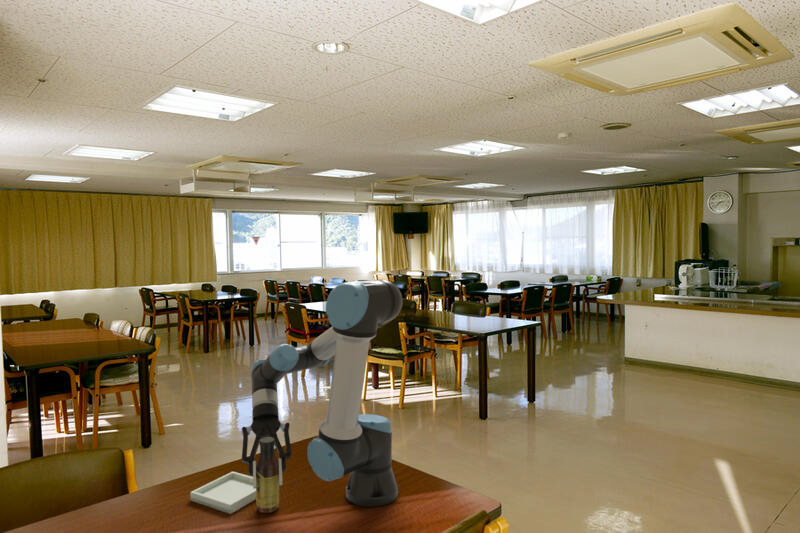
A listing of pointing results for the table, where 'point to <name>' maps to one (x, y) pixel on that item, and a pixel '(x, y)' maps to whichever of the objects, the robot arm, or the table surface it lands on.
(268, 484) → the sauce bottle
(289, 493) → the table surface
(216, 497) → the tray
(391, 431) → the robot arm
